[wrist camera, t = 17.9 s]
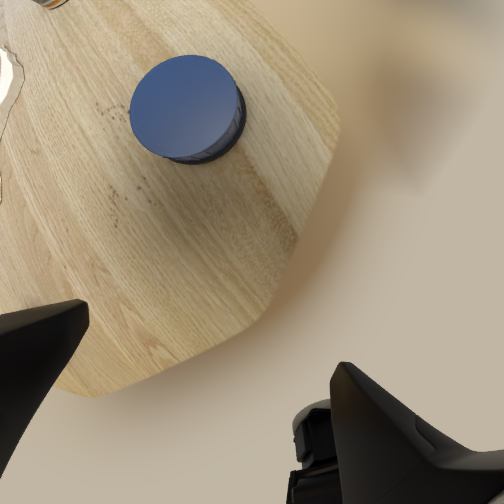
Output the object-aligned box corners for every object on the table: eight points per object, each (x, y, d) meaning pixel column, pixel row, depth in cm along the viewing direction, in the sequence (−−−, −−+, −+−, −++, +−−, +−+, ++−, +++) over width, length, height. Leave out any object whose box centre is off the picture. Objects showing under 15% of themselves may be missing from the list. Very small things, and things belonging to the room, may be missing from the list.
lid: (193, 56, 16) (182, 37, 12) (263, 110, 17) (263, 96, 13) (131, 124, 17) (109, 116, 14) (195, 181, 18) (181, 182, 15)
